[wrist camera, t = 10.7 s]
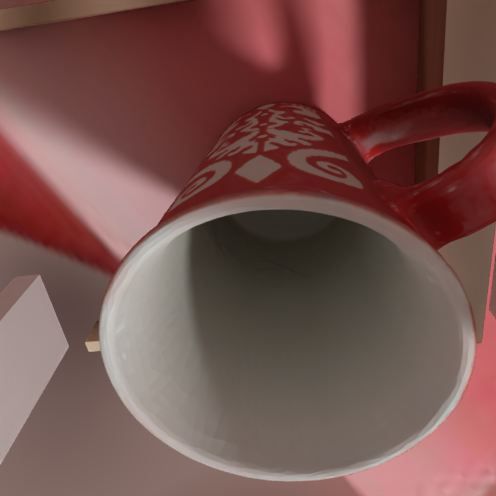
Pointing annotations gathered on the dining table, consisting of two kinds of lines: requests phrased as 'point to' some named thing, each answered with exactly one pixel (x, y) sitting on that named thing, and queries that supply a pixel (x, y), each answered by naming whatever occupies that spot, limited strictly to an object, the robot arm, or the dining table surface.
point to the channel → (429, 76)
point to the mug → (305, 292)
